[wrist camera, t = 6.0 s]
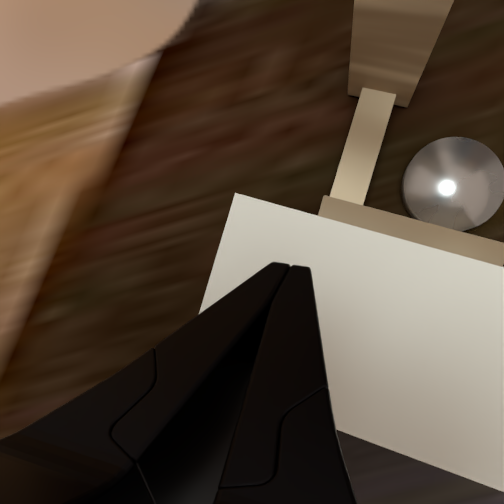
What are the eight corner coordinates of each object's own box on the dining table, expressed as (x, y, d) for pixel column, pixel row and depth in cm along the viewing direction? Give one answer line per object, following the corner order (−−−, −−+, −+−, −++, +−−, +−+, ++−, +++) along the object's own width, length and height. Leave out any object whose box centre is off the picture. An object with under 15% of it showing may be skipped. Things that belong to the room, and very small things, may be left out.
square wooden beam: (483, 272, 20) (878, 266, 6) (306, 222, 22) (250, 116, 7) (541, 82, 20) (1094, -434, 6) (359, 46, 22) (412, -421, 7)
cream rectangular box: (486, 452, 20) (528, 501, 16) (210, 353, 23) (181, 371, 19) (536, 288, 20) (592, 291, 16) (254, 208, 23) (235, 193, 18)
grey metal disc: (480, 244, 21) (490, 242, 20) (389, 220, 22) (393, 217, 20) (505, 157, 21) (517, 148, 20) (413, 136, 22) (418, 127, 20)
